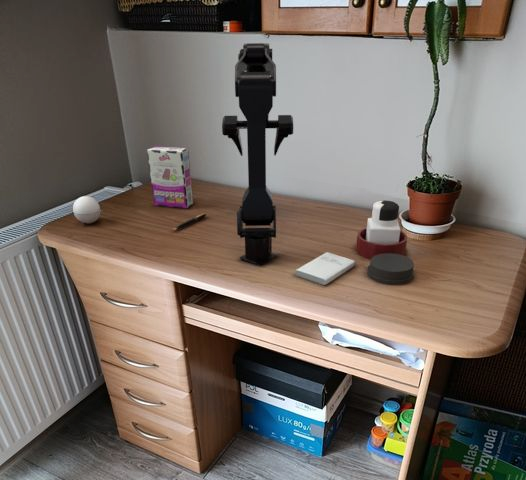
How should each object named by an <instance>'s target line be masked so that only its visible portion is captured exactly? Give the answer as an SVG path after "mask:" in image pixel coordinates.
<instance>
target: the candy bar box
mask: <svg viewBox="0 0 526 480" xmlns="http://www.w3.org/2000/svg"><path fill="white" fill-rule="evenodd" d="M146 153H147V160H148V161H147V162H148V168H149V176H150V183H151V189H152V197H153V205H154V206H156V207H163V208H164V207H165V208H175V209H188V208H190V207H191V206H193V205H194V196H193V195H194V194H193V185H192V175H191V173H192V172H191V164H190V163H191V162H190V151H189V148H188V147H171V146H152V147H150V148H148V149H146Z"/></svg>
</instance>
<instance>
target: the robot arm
mask: <svg viewBox="0 0 526 480" xmlns="http://www.w3.org/2000/svg"><path fill="white" fill-rule="evenodd" d="M237 59H238V61H237V62H236V64H235V66H234V94H235V97H236V98H238V107H239V109H240V111H241V113H242V114H243V117H244V118H245V120H239V118H238V115H224V116H223V118H222V122H221V132H222V136H226V137H227V138H228V139H231V140H232V141H233V143H234V145H235V146H236V148H237V150H238V152H239V155H240V156H241V157H243V154H244V153H243V143H242V138H241V137H242V136H241V130H245V129H246V140H247V173H248V175H247V176H248V177H247V178H248V179H247V180H248V187H247V189H246V190H245V192H244V193H243V195H242V205H239V208H238V210H237V211H236V232H237V233H236V234H237V236H239V238H240V239H242V238H244V255H242V256H240V261H244V262H247V263H250V264H253V265H256V266H260V267H262V266H264V265H266V264H267V263H269V262H270V261H272V260H274V259H276V258H277V254H275V253H273V250H272V248H273V247H272V242H273V238H277V210H276V209H277V206H276V205H275V204H274V203H273V201H274V200H273V199H274V198H273V195H272V191H271V190H270V189H269V188H268V186H267V162H266V161H267V152H266V148H267V147H266V144H267V142H266V140H267V138H266V137H267V136H266V130H267V129H276V130H275V131H276V132H275V139H274V146H273V156H277V153H278V151H279V148H280V146H281V144H282V142H283V141H284V139H285V138H288V137H289V136H291V135H293V134H294V117H293V116H292V114H278V115H277V119H274V120H273V119H272V120H271V119H270V120H269V117H270V116H269V115H270V112H271V111H272V109H273V106H274V105H273V104H274V97H277V65H276V63H275V61H273V48H270V43H267V42H265V43H263V42H253V43H252V42H249V43H243V45H242V48H240V50H239V53H238V54H237ZM271 224H273V225H272V227H270V226H271ZM244 226H245V227H244ZM260 226H261V227H260Z"/></svg>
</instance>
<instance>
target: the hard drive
mask: <svg viewBox="0 0 526 480" xmlns="http://www.w3.org/2000/svg"><path fill="white" fill-rule="evenodd" d="M355 266H356V261H355V260H354V259H351V258H347V257H344V256H341V255H337V254H334V253H332V252H329V251H327V252H324V253H323V254H321V255H319V256H318V257H316V258H314V259H313V260H310V261H309V262H307V263H305V264H304V265H302V266H301V267H298V268H297V269H295V270H294V271H295V273H294V274H295V276H296V277H298V278H301V279H304V280H306V281H310V282H313V283H316V284H319V285H322V286H326V285H328V284H329V283H331V282H332V281H334V280H336V279H337V278H339V277H340V276H341V275H343V274H345V273H346V272H347V271H349V270H350V269H352V268H354V267H355Z"/></svg>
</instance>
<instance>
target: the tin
mask: <svg viewBox="0 0 526 480" xmlns="http://www.w3.org/2000/svg"><path fill="white" fill-rule="evenodd" d="M366 231H367V227H365V228H362V229H360V230H359V231H358V232H357V235H356V236H357V237H356V245H355V251H356V252H357V254H358V255H359V256H361V257H363V258H364V259H369V260H371V258H372V257H373V256H375V255H378V254H384V253H393V254H399V255H403V256H406V250H407V242H408V235H407V233H405V231H402V230H400V236H399V243H396V244H376V243H372V242H368V241H366Z"/></svg>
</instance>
